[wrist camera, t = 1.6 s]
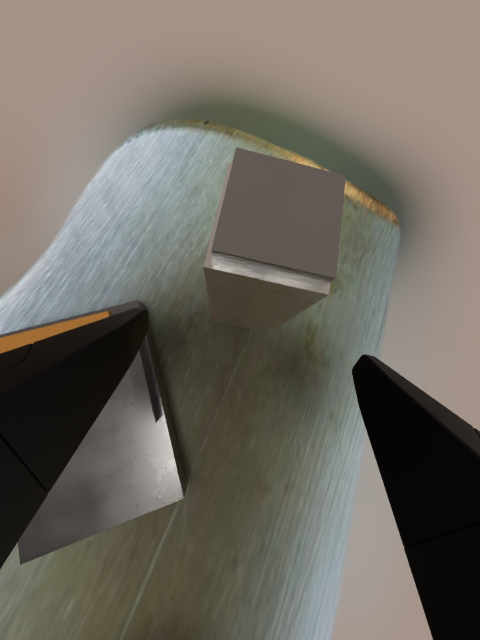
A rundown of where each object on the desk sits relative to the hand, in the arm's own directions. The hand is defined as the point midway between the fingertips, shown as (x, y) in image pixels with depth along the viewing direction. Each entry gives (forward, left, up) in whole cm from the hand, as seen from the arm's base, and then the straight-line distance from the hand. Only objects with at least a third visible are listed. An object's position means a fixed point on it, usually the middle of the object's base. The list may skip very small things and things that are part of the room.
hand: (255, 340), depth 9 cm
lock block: (+5, -3, -12) cm, 13 cm away
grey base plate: (-1, +12, -12) cm, 17 cm away
